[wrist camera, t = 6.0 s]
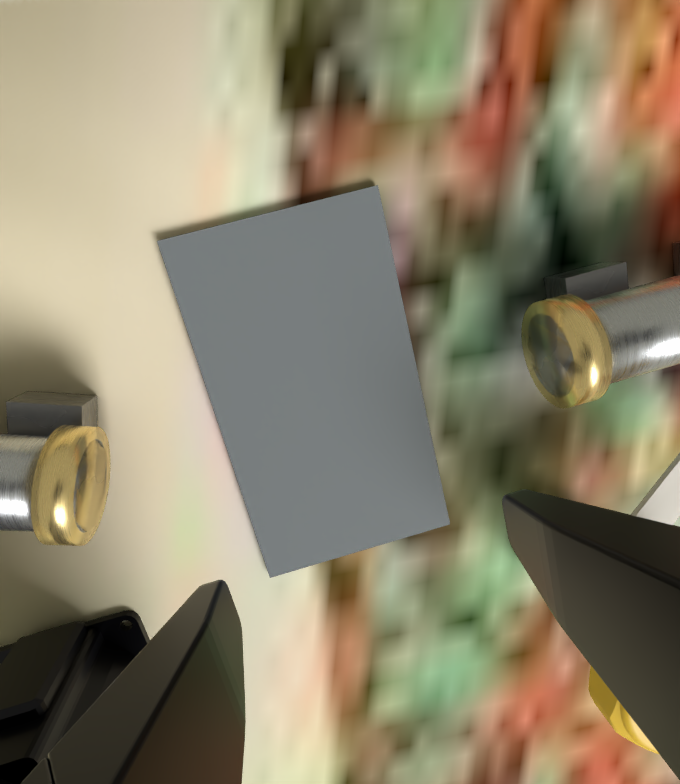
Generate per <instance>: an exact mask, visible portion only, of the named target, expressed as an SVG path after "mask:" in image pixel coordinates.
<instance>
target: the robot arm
mask: <svg viewBox="0 0 680 784" xmlns="http://www.w3.org/2000/svg"><path fill="white" fill-rule="evenodd" d="M502 505H503V511H504V516H505V522H506V527H507V533H508V538H509V541H510V544H511V546H512V548H513V550H514V552H515V553H516V555H517V557H518V558H519V560H520V561H521V563H522V565H523V566H524V568H525V570H526V571H527V573H528V574H529V576H530V578H531V579H532V581H533V583H534V584H535V586H536V588H537V589H538V591H539V592H540V594H541V596H542V597H543V599H544V601H545V602H546V604H547V606H548V607H549V609H550V610H551V612H552V613H553V615H554V617H555V618H556V620H557V621H558V623H559V624H560V625H561V627H562V628H563V630H564V631H565V632H566V634H567V635H568V636H569V638H570V639H571V640H572V641H573V643H574V644H575V645H576V647H577V648H578V649H579V650H580V652H581V653H582V654H583V656H584V657H585V658H586V660H587V661H588V662H589V663H590V665H591V666H592V667H593V669H594V670H595V671H596V672H597V674H598V675H599V676H600V678H601V679H602V680H603V682H604V683H605V684H606V685H607V687H608V688H609V689H610V691H611V692H612V693H613V694H614V696H615V697H616V698H617V700H618V701H619V702H620V704H621V705H622V706H623V707H624V709H625V710H626V711H627V713H628V714H629V715H630V716H631V718H632V719H633V720H634V722H635V723H636V724H637V725H638V727H639V728H640V729H641V731H642V732H643V733H644V735H645V736H646V737H647V738H648V740H649V741H650V742H651V744H652V745H653V746H654V747H655V749H656V750H657V751H658V753H659V754H660V755H661V757H662V758H663V759H664V760H665V762H666V763H667V764H668V766H669V767H670V768H671V769H672V771H673V772H674V773H675V775H676V776H677V777H678V779H679V780H680V527H679V526H675V525H670V524H666V523H662V522H658V521H654V520H650V519H646V518H642V517H637V516H633V515H629V514H625V513H621V512H617V511H613V510H609V509H604V508H600V507H596V506H592V505H588V504H584V503H580V502H575V501H571V500H567V499H563V498H559V497H555V496H551V495H547V494H543V493H538V492H534V491H530V490H526V489H524V490H519V491H516V492H512V493H509V494H506V495H504V497H503V499H502ZM124 620H128V621H130V622H131V623H132V625H130V626H127V625H124V624H123V623H122V621H124ZM244 741H245V690H244V666H243V641H242V627H241V622H240V619H239V616H238V613H237V610H236V607H235V605H234V602H233V599H232V596H231V594H230V591H229V588H228V586H227V584H226V582H225V581H223V580H217V581H214V582H210V583H207V584H204V585H201V586H200V587H198V589H197V590H196V591H195V592H194V593H193V594H192V595H191V596H190V597H189V598H188V600H187V601H186V602H185V603H184V604H183V605H182V606H181V607H180V608H179V609H178V611H177V612H176V613H175V614H174V615H173V616H172V617H171V618H170V619H169V621H168V622H167V623H166V624H165V625H164V626H163V627H162V628H161V629H160V630H159V632H158V633H157V634H156V635H155V636H154V637H153V638H152V639H151V640H150V639H149V637H148V635H147V632H146V630H145V628H144V625H143V623H142V621H141V618H140V616H139V615H138V614H137V613H136V612H134V611H130V610H126V611H122V612H118V613H115V614H111V615H108V616H105V617H101V618H98V619H95V620H91V621H88V622H85V623H84V622H78V621H77V622H73V623H69V624H66V625H63V626H59V627H56V628H53V629H49V630H46V631H42V632H39V633H36V634H32V635H29V636H26V637H22V638H20V639H18V641H17V642H16V643H14V644H10V645H7V646H4V647H0V784H241V783H242V769H243V755H244Z"/></svg>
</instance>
